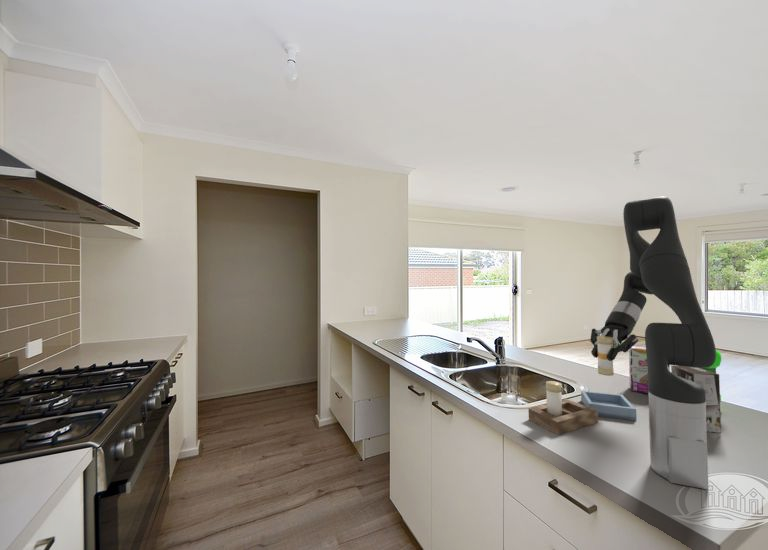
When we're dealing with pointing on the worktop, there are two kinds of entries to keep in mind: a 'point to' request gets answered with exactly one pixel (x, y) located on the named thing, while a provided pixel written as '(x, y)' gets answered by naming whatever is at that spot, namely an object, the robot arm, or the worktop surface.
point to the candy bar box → (639, 369)
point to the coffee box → (711, 390)
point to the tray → (609, 405)
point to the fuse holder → (564, 417)
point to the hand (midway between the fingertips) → (601, 357)
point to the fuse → (554, 398)
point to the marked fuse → (604, 355)
